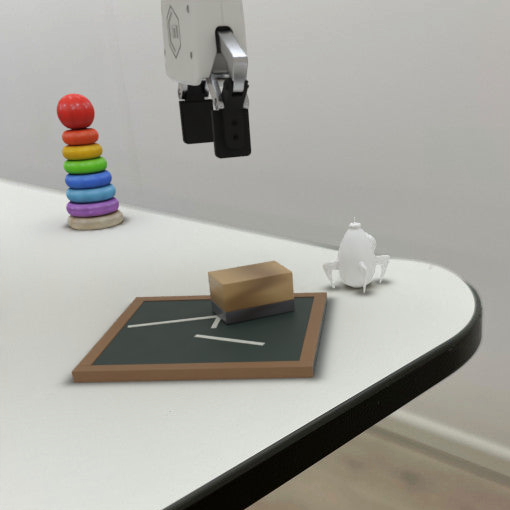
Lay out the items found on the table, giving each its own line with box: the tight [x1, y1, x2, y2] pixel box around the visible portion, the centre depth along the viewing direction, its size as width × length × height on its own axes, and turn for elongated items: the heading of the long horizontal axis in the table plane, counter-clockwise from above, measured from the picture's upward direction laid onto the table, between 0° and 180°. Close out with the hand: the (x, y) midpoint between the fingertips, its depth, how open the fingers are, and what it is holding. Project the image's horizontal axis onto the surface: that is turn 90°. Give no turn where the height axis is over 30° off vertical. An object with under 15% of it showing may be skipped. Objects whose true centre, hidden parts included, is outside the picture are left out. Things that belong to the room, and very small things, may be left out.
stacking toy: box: [56, 93, 124, 231], centre depth 111 cm, size 8×8×19 cm
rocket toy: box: [322, 216, 391, 294], centre depth 82 cm, size 5×5×8 cm
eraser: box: [207, 260, 295, 324], centre depth 74 cm, size 7×4×4 cm, turn 118°
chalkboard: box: [71, 291, 328, 383], centre depth 72 cm, size 20×18×1 cm
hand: (215, 149), depth 71 cm, fingers open, 9 cm apart
